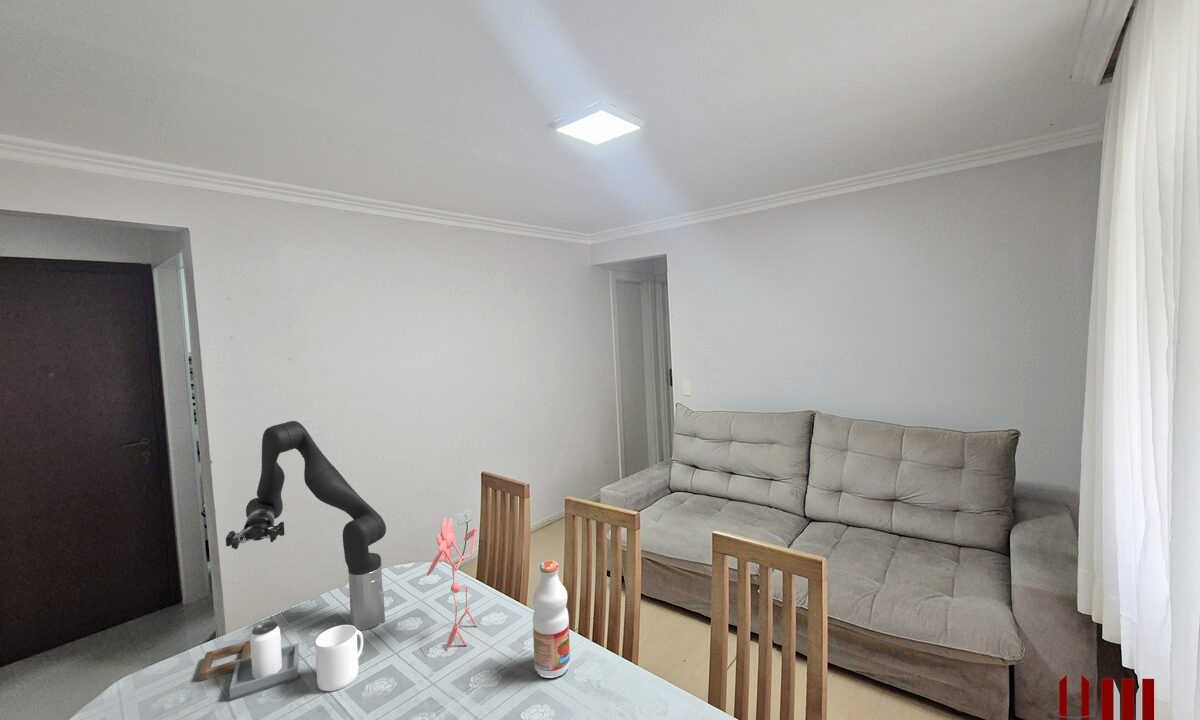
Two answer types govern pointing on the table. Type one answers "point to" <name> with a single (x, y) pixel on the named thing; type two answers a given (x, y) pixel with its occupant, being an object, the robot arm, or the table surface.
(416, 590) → the table surface
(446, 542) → the figurine
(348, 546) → the robot arm
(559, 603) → the fruit juice
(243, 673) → the grey shallow rectangular tray
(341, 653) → the mug
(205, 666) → the walnut collar
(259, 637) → the can
